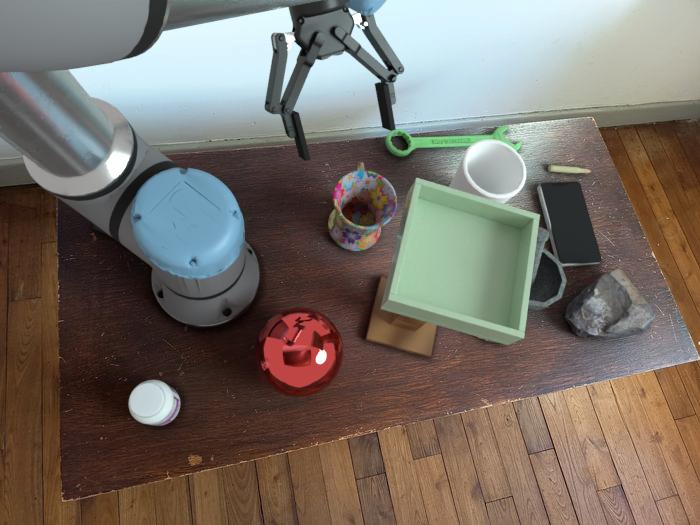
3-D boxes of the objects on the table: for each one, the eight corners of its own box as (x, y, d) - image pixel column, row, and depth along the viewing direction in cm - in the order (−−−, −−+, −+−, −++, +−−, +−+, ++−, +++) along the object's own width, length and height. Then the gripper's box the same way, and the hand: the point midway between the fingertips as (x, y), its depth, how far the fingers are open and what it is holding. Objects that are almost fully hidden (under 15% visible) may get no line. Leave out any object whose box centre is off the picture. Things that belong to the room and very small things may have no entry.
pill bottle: (133, 398, 72) (114, 391, 63) (170, 378, 74) (157, 368, 65) (150, 434, 71) (134, 431, 62) (187, 413, 73) (177, 407, 64)
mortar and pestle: (550, 313, 86) (593, 292, 75) (497, 322, 84) (533, 302, 73) (530, 248, 89) (568, 219, 78) (478, 256, 88) (510, 227, 76)
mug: (383, 255, 85) (399, 229, 75) (325, 255, 84) (333, 228, 74) (379, 188, 89) (394, 154, 79) (323, 186, 88) (331, 152, 78)
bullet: (549, 172, 95) (591, 175, 96) (552, 166, 94) (593, 170, 95) (547, 169, 96) (588, 172, 97) (549, 163, 95) (591, 167, 96)
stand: (364, 339, 80) (404, 295, 58) (379, 278, 84) (422, 214, 61) (428, 357, 81) (491, 320, 58) (440, 296, 84) (504, 239, 62)
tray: (380, 309, 57) (387, 299, 53) (407, 193, 62) (416, 177, 58) (508, 345, 58) (524, 338, 54) (524, 228, 63) (540, 214, 59)
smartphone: (559, 265, 88) (538, 183, 92) (555, 267, 89) (535, 186, 93) (603, 261, 89) (580, 181, 94) (599, 264, 90) (576, 184, 95)
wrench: (519, 122, 95) (526, 149, 94) (515, 128, 97) (521, 154, 96) (384, 126, 91) (388, 154, 89) (381, 132, 93) (386, 160, 91)
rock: (603, 263, 91) (623, 252, 86) (655, 312, 89) (678, 303, 84) (553, 318, 86) (571, 310, 81) (606, 371, 84) (628, 365, 79)
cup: (443, 171, 92) (469, 129, 80) (496, 189, 92) (531, 150, 80) (430, 221, 88) (456, 185, 76) (486, 240, 89) (521, 207, 77)
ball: (251, 400, 75) (248, 390, 63) (258, 316, 79) (257, 293, 68) (336, 403, 76) (348, 394, 65) (339, 321, 80) (351, 299, 69)
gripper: (385, -40, 73) (409, 113, 83) (210, 3, 66) (259, 164, 76) (414, -46, 67) (435, 121, 77) (223, 2, 60) (275, 177, 70)
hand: (348, 143), depth 77 cm, fingers open, 13 cm apart
